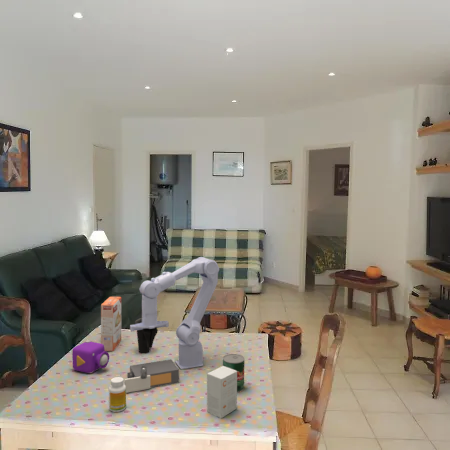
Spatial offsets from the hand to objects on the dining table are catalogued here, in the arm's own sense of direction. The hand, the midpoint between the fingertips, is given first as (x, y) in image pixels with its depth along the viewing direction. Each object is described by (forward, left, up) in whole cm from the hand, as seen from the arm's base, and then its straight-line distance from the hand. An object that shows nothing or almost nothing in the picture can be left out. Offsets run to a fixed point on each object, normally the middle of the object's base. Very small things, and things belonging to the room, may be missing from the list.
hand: (149, 346), depth 168 cm
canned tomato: (-25, +23, -11) cm, 36 cm away
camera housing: (0, +7, -10) cm, 13 cm away
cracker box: (+9, -34, -11) cm, 37 cm away
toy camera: (+20, -12, -11) cm, 26 cm away
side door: (+8, +14, -10) cm, 18 cm away
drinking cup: (-3, -22, -11) cm, 25 cm away
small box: (-15, +36, -11) cm, 40 cm away
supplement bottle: (+16, +22, -11) cm, 29 cm away
